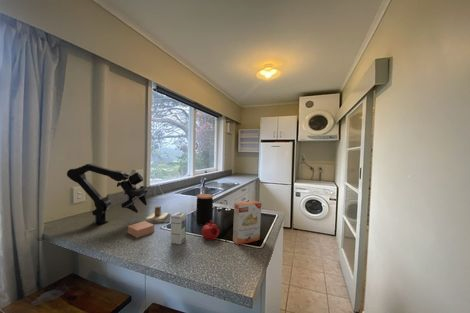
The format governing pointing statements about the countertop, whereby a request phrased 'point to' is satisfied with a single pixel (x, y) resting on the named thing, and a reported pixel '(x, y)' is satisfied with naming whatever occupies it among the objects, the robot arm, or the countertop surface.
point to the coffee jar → (204, 209)
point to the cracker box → (246, 222)
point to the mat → (159, 222)
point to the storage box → (140, 229)
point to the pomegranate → (210, 231)
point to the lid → (157, 215)
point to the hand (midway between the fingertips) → (141, 208)
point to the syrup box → (178, 227)
